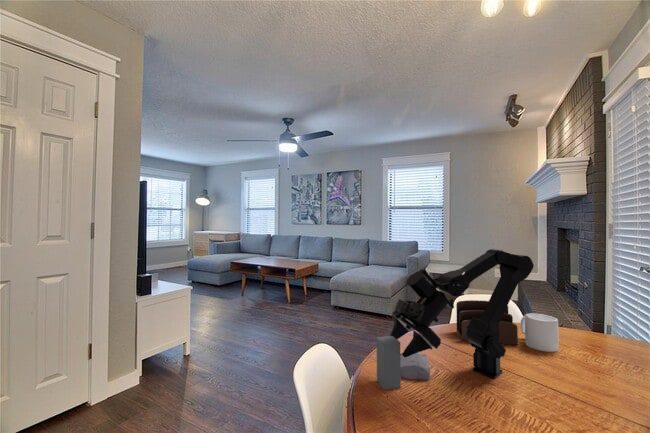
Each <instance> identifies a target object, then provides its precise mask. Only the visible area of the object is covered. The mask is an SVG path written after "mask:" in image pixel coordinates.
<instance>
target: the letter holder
mask: <svg viewBox="0 0 650 433" xmlns="http://www.w3.org/2000/svg"><path fill="white" fill-rule="evenodd" d="M488 302H489V300H474V299H473V300H471V299H470V300H458V301H457V302H456V332H457V334H458V336H459V338H460V339H461V341H467V342H470V341H469V340H468V338H467V335H466V332H467V328H466V327H467V326H468V325H469V324H470V321H471V319H472V317H474V318H476V319H477V318H479V317H481V316H482V314H483V312H484V310H485V308H486V306H487V304H488ZM513 321H514V320H513V315H512V314H510V313H509V304H508V305H507V308H506V310H505V312H504V314H503V316H502V318H501V320H500V322H499V332H500V336H499V340H498V342H499V343H500V344H501V345H512V346H519V337H518V336H519V335H518V334H519V332H518V330H519V328H518V324H515V323H514V322H513Z"/></svg>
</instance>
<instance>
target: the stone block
mask: <svg viewBox="0 0 650 433" xmlns="http://www.w3.org/2000/svg"><path fill="white" fill-rule="evenodd" d="M402 354H403V352H400V369H401V378H405V379H409V380H410V379H412V380H427V381H429V380H430V379H431V367H430V363H429V361H428V358H427V354H426V353H420V352H418V353H415V354H413V355H410V356H408V357H404V356H403V355H402Z"/></svg>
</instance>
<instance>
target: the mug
mask: <svg viewBox="0 0 650 433" xmlns="http://www.w3.org/2000/svg"><path fill="white" fill-rule="evenodd" d="M520 329H521V330H520V331H521V333H522V335H524V344H525V345H526V346H527V347H528V348H531V349H534V350H538V351H540V352H541V351H542V352H548V353H549V352H550V353H554V352H555V353H556V352H558V351H559V350H560V342H559V341H560V340H559V337H560V336H559V319H558V318H556V317H554V316H550V315H547V314H542V313H534V312H533V313H525V314H524V315H523V316H522V317H521V319H520Z"/></svg>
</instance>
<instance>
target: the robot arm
mask: <svg viewBox="0 0 650 433" xmlns="http://www.w3.org/2000/svg"><path fill="white" fill-rule="evenodd" d="M531 258H532V257H529V256H528V255H523V254H512V253H510V252H506V251H503V250H502V249H495V248H493V249H492V248H491V249H488V250H486V252H484V253H482V254H481V255H480V256H477V257H476V258H474V259H473V260H472V261H470V262H469V263H467V264H466V265H464V266H462V267H461V268H459V269H454V270H449V271H447V272H444V273H442V274H440V275H439V276H438V277H435V278H432V276H431V275H430V274H429V272H428V271H427V270H426V269H423V268H420V269H419V271H416V272H414V273H413V274H410V275H409V276H408V278H407V279H406V286H408V287H409V288H410V289H411V290H412V291H413V293H415V294H416V296H418V298H420V299H422V301H421V303H419V302H415V301H411V302H407V301H404V300H402V299H400V298H399V299H398V300H397V302H396V305H395V307H394V311H393V312H392V313H391V315H392V320H393V327H392V330H391V331H390V332H391V333H390V334H389V336H393V337H394V338H396V339H397V340H398V341H399V339H400V338H402V337H404V336H405V335H406V334H407V333H409V330H410V329H412V330H413V331H412V332H413V334H412V339H411V340H410V342H409V343H408V345H406V347H405V349H404V350H403V352H402V353H403V354H402V355H403V356H404V357H408V356H410V355H413V354H415V353H421V352H423V351H427V350H433V348H434V349H436V350H437V349H439V347H440V346H441V344H442V341H441V338H440V336H439V335H438V334H437V333H436V332H435V331H434V330H433V329H432V328H431V325H432V324H433V323H436V324H437V323H438V322H439V318H438V317H439V315H440V314H442V311H443V310H444V309H445V308H446V307H448V308H450V309H454V308H455V305H454V299H453V298H451V297H452V296H453V297H459V296H461V295H463V293H464V292H466V290H468V289H469V287H470V285H471V283H472V282H473V281H474V280H476V279H477V278H479V277H480V276H483V275H484V274H485V273H487V272H488V271H490V270H491V269H493V268H495V267H496V266H498V265H499V274H500V277H499V279H498V281H497V283H496V286H495V287H494V289H493V292H491V293H492V294H491V296H490V297H489V300H488V301H489V302H488V304H487V306H486V308H485V310H484V312H483V314H482V316H481V317H479V318H477V319H476V318H474V317H472V319H471V321H470V324H469V325H468V326H467V327H466V328H467V332H466V335H467V338H468V340H469V341H468V342H469V343H470V346H471V347H472V348H474V352H473V353H472V354H473V355H472V358H473V359H472V361H473V364H472V365H473V368H472V371H473V372H476V373H479V374H482V375H483V376H487V377H488V378H489V377H490V378H492V379H496V378H497V377H499V376H500V375H501V374H502V373H503V369H501V358H502V357H505V355H506V352H507V350H506V348H505V347H504V346H503V344H500V343H499V342H498V340H499V336H500V332H499V322H500V320H501V318H502V316H503V314H504V312H505V310H506V308H507V305H508V306H509V303H510V301H511V299H512V298H513V294H514V293H515V291H516V289H517V286H518V284H520V283H521V282H523V281H524V280H526V279H527V278H528V277H529V275H530V274H531V273H532V272H533V269H534V262H533V260H532V259H531ZM446 294H447V295H450V296H451V297H449V296H447V295H446Z"/></svg>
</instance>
